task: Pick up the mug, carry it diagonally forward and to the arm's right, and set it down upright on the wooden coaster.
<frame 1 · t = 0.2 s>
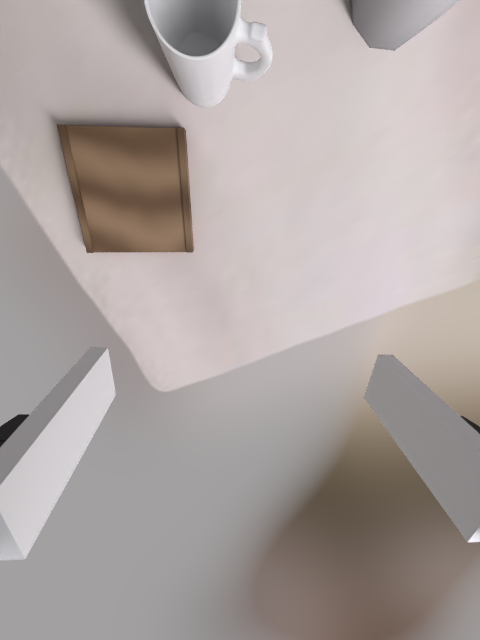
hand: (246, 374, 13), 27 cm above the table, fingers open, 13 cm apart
wooden coaster: (135, 195, 33), on the table
mug: (218, 78, 29), on the table
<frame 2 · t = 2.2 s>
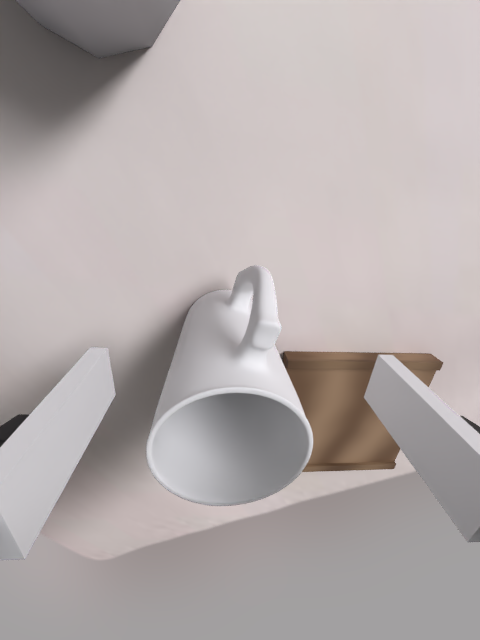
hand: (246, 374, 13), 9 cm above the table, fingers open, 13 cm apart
wooden coaster: (341, 411, 26), on the table
mug: (229, 306, 21), on the table
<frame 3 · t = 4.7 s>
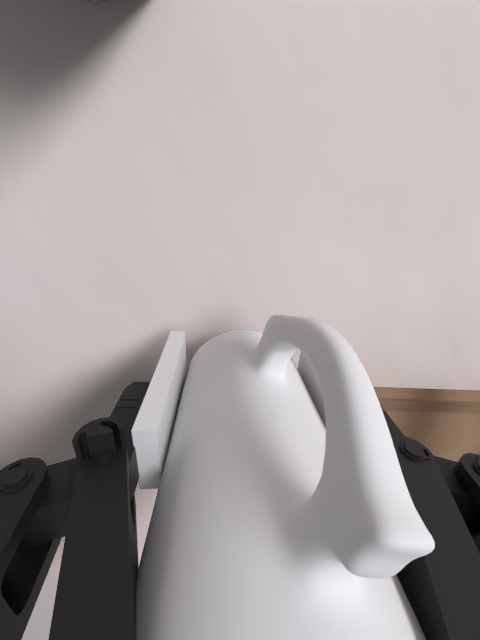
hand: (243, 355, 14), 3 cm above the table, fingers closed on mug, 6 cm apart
wooden coaster: (382, 453, 22), on the table
mug: (249, 350, 15), point 2 cm above the table, touching gripper
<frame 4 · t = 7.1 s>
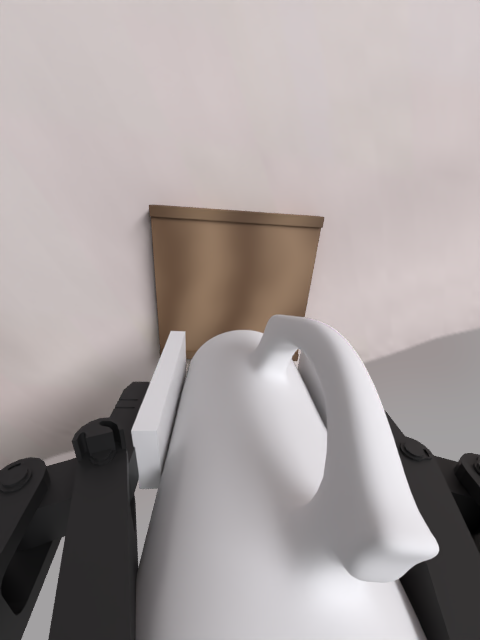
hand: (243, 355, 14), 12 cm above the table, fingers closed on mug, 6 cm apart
wooden coaster: (233, 289, 25), on the table
mug: (249, 350, 15), point 11 cm above the table, touching gripper
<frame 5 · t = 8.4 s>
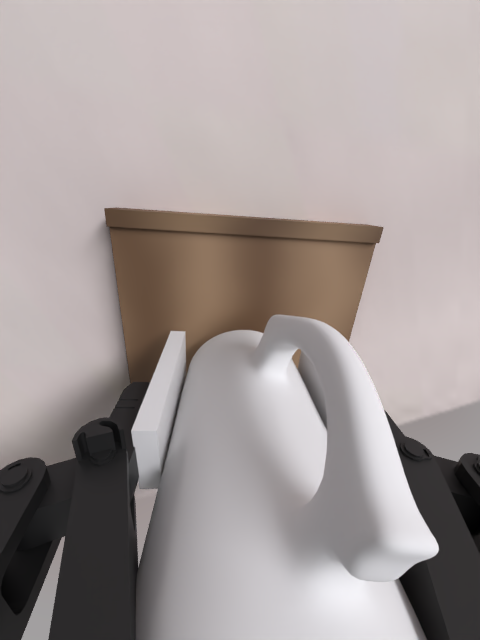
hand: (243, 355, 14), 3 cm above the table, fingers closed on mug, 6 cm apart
wooden coaster: (239, 329, 17), on the table
mug: (249, 350, 15), point 3 cm above the table, touching gripper
when the fingers open (2 cm above the table, at t = 9.4 s): mug stays where it is, resting on wooden coaster.
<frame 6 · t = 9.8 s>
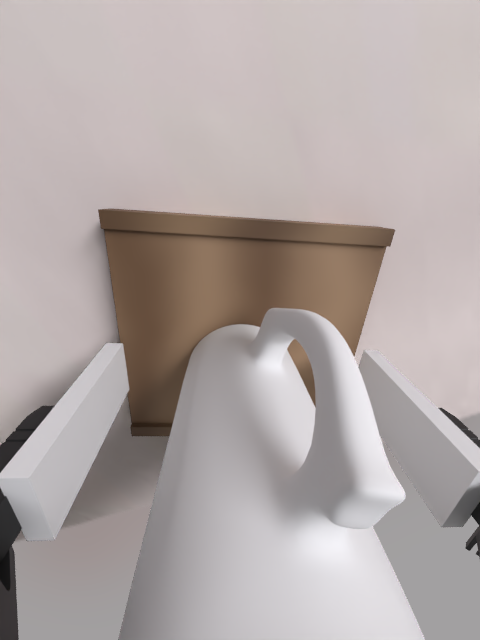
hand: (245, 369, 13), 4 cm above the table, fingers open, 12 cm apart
wooden coaster: (241, 336, 16), on the table
mug: (247, 344, 16), point 1 cm above the table, touching wooden coaster
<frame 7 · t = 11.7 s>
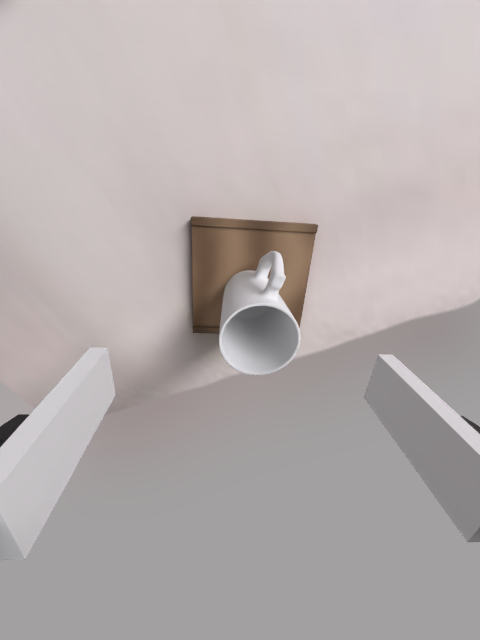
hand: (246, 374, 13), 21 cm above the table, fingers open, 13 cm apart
wooden coaster: (249, 279, 33), on the table
mug: (252, 281, 32), point 1 cm above the table, touching wooden coaster
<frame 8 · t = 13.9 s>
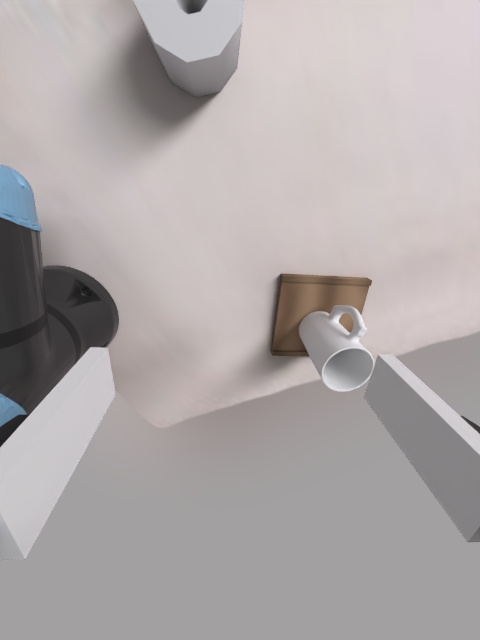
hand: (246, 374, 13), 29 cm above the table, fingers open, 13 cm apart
wooden coaster: (316, 316, 44), on the table
mug: (320, 318, 43), point 1 cm above the table, touching wooden coaster
toilet tissue: (196, 27, 28), on the table
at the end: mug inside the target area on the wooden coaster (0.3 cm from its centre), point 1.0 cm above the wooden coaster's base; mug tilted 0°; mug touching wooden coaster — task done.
